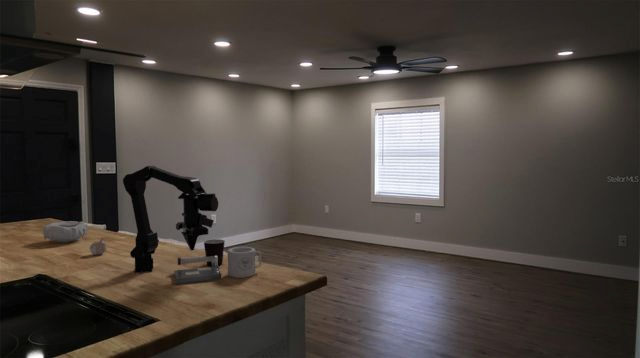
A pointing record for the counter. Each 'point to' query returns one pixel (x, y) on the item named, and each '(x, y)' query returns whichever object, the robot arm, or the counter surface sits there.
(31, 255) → the counter surface
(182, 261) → the cable arm
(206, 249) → the coffee mug
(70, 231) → the bowl
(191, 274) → the chassis
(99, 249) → the garlic bulb
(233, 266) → the mug
